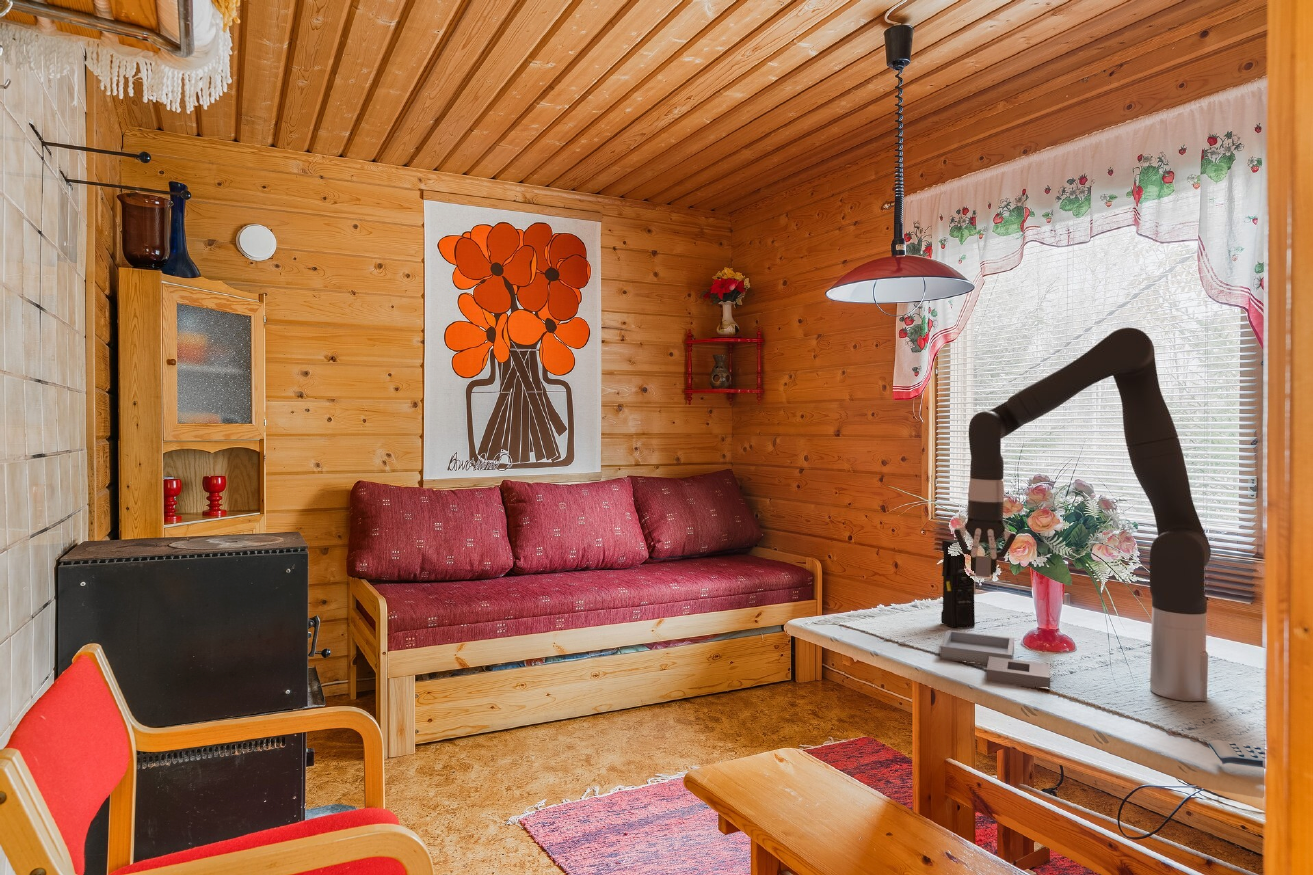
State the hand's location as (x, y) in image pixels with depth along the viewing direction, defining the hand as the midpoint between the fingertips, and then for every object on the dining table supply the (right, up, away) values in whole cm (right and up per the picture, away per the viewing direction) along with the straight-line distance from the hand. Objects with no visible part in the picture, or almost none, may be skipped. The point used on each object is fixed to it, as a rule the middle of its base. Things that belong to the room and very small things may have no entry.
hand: (983, 573), depth 182 cm
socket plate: (+2, -20, -13) cm, 24 cm away
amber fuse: (+2, 0, +4) cm, 5 cm away
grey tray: (0, -20, +3) cm, 20 cm away
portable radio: (+5, -19, +29) cm, 35 cm away
